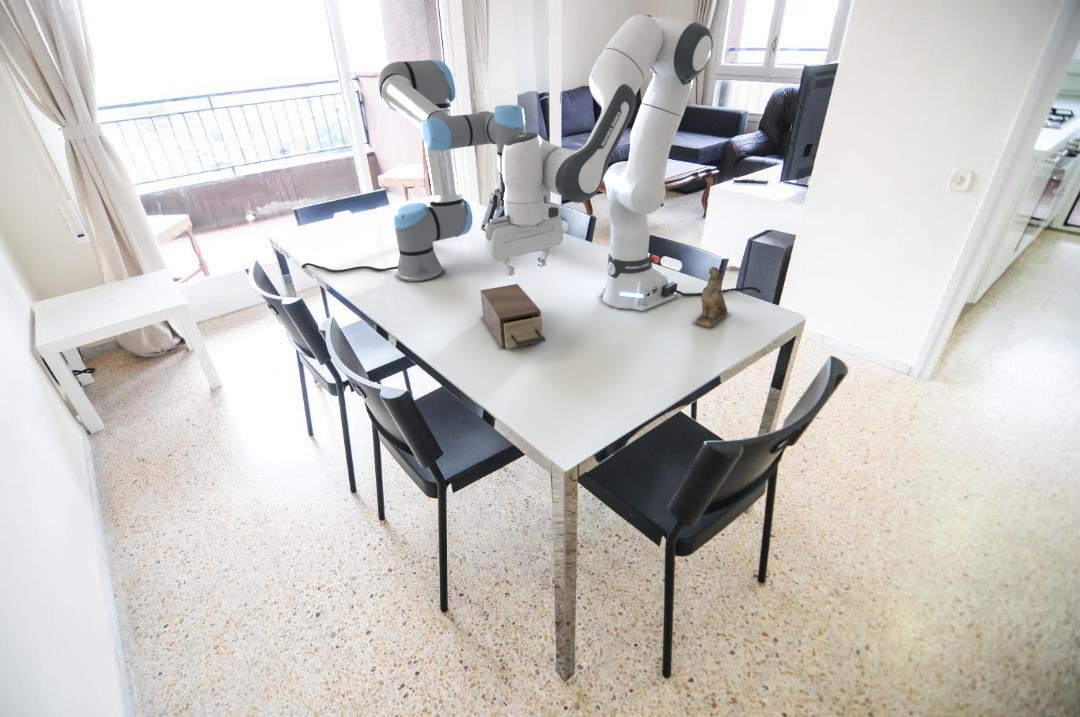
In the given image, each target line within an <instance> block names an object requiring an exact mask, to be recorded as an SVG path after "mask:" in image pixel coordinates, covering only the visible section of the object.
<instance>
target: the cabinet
mask: <svg viewBox="0 0 1080 717" xmlns="http://www.w3.org/2000/svg"><path fill="white" fill-rule="evenodd" d="M479 291H480V300H481V309H482V318H483V321H485V323H486V325H487V327H488V328H489V330H490V331H491V333H492V334H493V336H494V337H495V340H496V341H497V342H498V344H499V346H500V347H501V349H507V348H506V347H505V336H504V323H503V321H507V320H512V319H517V318H522V317H527V316H532V315H535V317H539V316H540V317H541V318H542V311H541V309H540V308H539V307H538V306H537V305H536V303H534V301H533V300H532V299H531V298H530V297H529V295H528V294H527V293H526V292H525V291H524V289H523V288H522V287H521V286H520V285H519V283H514V284H508V285H501V286H497V287H491V288H485V289H481V290H479Z"/></svg>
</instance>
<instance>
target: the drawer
mask: <svg viewBox="0 0 1080 717" xmlns="http://www.w3.org/2000/svg"><path fill="white" fill-rule="evenodd" d="M542 319H543V318H542V316H541V317H540V316H539V317H535V315H532V316H527V317H522V318H517V319H512V320H507V321H503V323H504V336H505V347H506V348H505V349H506V350H508V349H513V348H519V347H523V346H527V345H528V346H529V345H532V344H537V343H542V342H545V341H546V337H545V335H543V320H542Z"/></svg>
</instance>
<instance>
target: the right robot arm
mask: <svg viewBox="0 0 1080 717" xmlns="http://www.w3.org/2000/svg"><path fill="white" fill-rule="evenodd" d="M713 48H714V41H713V36H712V32H711V29H709V28H708V27H707V26H705V25H703V24H701V23H700V22H697V21H695V22H694V21H693V22H692V21H689V20H686V19H682V18H679V17H675V16H670V17H667V16H653V15H650V14H643V13H642V14H641V13H638V14H635V15H632V16H631V17H629V18H628V19H627V20H626V21H625V22H623V24H622V25H621V26H620V28H618V30H617V31H616V32H615V33H614V35H613V36H612V37H611V38H610V39H609V41H608V43H607V44H606V45H605V47H604V48H603V49H602V52H600V54H599V56H598V57H597V59H596V60H595V63H594V64H593V66H592V69H591V71H590V74H589V76H588V84H589V90H590V93H591V96H592V98H593V99H594V100H595V102H596V103H597V104H598V105H599V107H601V111H600V114H599V117H598V119H597V121H596V123H595V125H594V127H593V129H592V130H591V132H590V134H589V137H588V139H587V140H586V142H585V143H584V145H583V146H581V147H580V148H579V149H576V150H574V149H570V148H566V147H562V146H559V145H556V144H553V143H551V142H549V141H547V140H545V139H544V138H543V137H541V136H540V134H538V133H537V132H532V131H527V132H526V131H525V133H519V134H516V135H513V136H511V137H509V138H508V139H507V140H506V141H505V144H504V147H503V156H502V173H503V182H504V185H505V194H504V210H505V216H503V217H500V218H494V217H493V218H494V219H491V220H490V222H488V223H487V225H486V226H485V231H484V234H485V240H484V253H485V257H486V258H488V260H490V261H492V262H496V263H497V262H500V264H501V265H502V266H503V268H504V274H505V276H507V277H511V276H514V275H515V267H513V266H511V265H510V264H509V263H510V262H511V259H512V258H516V257H520V256H523V255H527V254H531V253H534V252H538V251H541V252H540V255H539V257H537V258H536V265H537V266H538V267H540V268H542V267H545V266H547V259H548V257H549V254H550V252H551V248H553V247H556V246H560V245H561V244H562V242H563V240H564V226H563V220H562V218H561V216H562V213H563V210H562V207H560V206H558V205H556V204H553V203H549V202H547V203H546V202H543V195H545V193H546V192H551V193H553V194H556V195H558V196H561V197H563V198H565V199H566V200H569V201H570V202H573V203H575V204H576V203H577V204H581V203H584V202H588V201H589V200H591V199H592V198H593V197H594V196H595V195H597V193H598V192H599V190H600V188H601V186H602V184H603V183H604V186H605V191H606V198H607V208H608V209H607V210H608V218H609V223H610V224H609V225H610V236H609V238H610V240H609V253H608V254H607V255H608V257H607V280H606V285H605V289H604V291H603V292H604V293H603V294H602V301H603V302H604V303H605V304H606V305H608V306H611V307H613V308H619V309H624V310H625V309H626V310H636V311H641V312H644V311H647V310H650V309H652V308H654V307H656V306H659V305H661V304H663V303H666V302H668V301H671V300H673V299H675V298H676V294H679V295H680V296H684V297H699V296H702V292H697V293H696V292H695V293H693V292H690V293H689V292H682V291H680V290H678V282H675V281H670V282H669V279H668V277H667V275H665V273H663V271H661V270H660V269H658V268H657V267H655V266H654V265H653V263H654V264H658V263H659V262H660V260H661V259H660V256H658V255H655V254H651V253H650V252H649V248H650V236H651V228H650V223H649V221H648V214H652V213H654V212H656V211H657V210H659V208H660V207H661V206H662V205H663V203H664V201H665V199H666V194H667V193H666V186H665V184H666V183H665V178H666V174H667V166H668V162H669V156H670V152H671V148H672V145H673V142H674V140H675V137H676V135H677V133H678V129H679V127H680V124H681V122H682V119H683V118H684V117H683V116H684V113H685V111H686V109H687V108H686V107H687V106H688V102H689V98H690V96H691V91H692V87H693V82H694V79H696V78H697V77H698V76H699V75H700V74H701V73H702V72H703V71H704V70H705V68H706V67H707V65H708V63H709V62H710V59H711V56H712V52H713ZM650 72H651V73H652V79H651V80H650V81H649V84H648V86H647V89H646V90H645V93H644V96H643V98H642V100H641V103H640V106H639V108H638V111H637V114H636V117H635V119H634V123H633V125H632V128H631V130H630V134H629V143H630V144H629V154H628V159H627V160H626V161H625V160H623V161H618V162H615V163H613V164H611V165H610V166H609V163H610V161H611V158H613V155H614V153H615V151H616V149H617V147H618V145H619V143H620V141H621V139H622V138H623V136H624V134H625V131H626V129H627V128H628V125H629V123H630V121H631V119H632V117H633V114H634V112H635V109H636V104H637V98H636V96H637V93H638V92H639V90H640V88H641V87H642V85H643V83H644V81H645V80H646V78H647V77H648V75H649V73H650ZM608 166H609V167H608ZM490 223H491V224H490ZM652 262H653V263H652ZM726 289H727V290H726ZM726 289H722V293H723V294H725V293H729V292H738V291H739V292H740V291H747V290H752V291H755V292H757V293H759V294H761V293H762V291H761V290H760V289H759V288H757V287H756V286H744V287H733V288H732V287H731V288H726ZM729 290H730V291H729Z"/></svg>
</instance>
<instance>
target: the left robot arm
mask: <svg viewBox="0 0 1080 717" xmlns="http://www.w3.org/2000/svg"><path fill="white" fill-rule="evenodd" d="M376 91H377V94H378V97H379V98H380V100H381V102H382V103H383V104H384V105H385V106H386V107H388V108H389V109H390V110H392V111H396V112H399V113H400V114H401V115H402V116H404V117H405V118H406V119H407V120H408V121H410V122H411V123H412V124H413V125H414V126H415V127H416V128H418V129H419V130H420V131H421V138H422V140H423V142H424V149H425V155H426V161H427V166H428V173H429V179H430V185H431V186H430V187H431V191H432V195H431V197H430V198H429V206H428V205H427V204H426V203H424V202H416V203H409V204H406V205H403V206H401V207H399V208H397V209H396V210H395V211H394V213H393V215H392V219H393V228H394V230H395V231H394V232H395V236H396V241H397V247H398V251H399V259H398V265H396V266H391V267H386V268H377V267H374V266H369V265H360V266H353V267H349V268H344V269H331V268H328V267H325V266H321V265H318V264H315V263H311V262H306V263H303V264H302V266H301V269H303V268H305V267H307V266H309V267H313V268H316V269H319V270H324V271H327V272H329V273H330V272H331V273H344V272H350V271H354V270H361V269H362V270H364V269H367V270H372V271H377V272H387V271H391V270H392V271H393V270H397V276H398V278H399V279H400V280H402V281H406V282H413V283H414V282H425V281H429V280H432V279H435V278H438V277H439V276H440V275H441V274H442V273H443V268H442V264H441V263H440V260H439V259H438V256H437V254H436V252H435V250H434V243H435V242H438V241H442V240H447V239H451V238H458V237H460V236H463V235H466V234H468V233H469V232H470V231H471V228H472V227H473V226H472V225H473V211H472V208H471V205H470V202H468V200H466V199H464V195H463V194H461V193H460V192H459V189H458V182H457V175H456V169H455V168H456V166H455V160H454V153H453V149H460V148H466V147H476V146H483V145H484V146H485V145H496V156H497V170H498V171H499V173H498V184H499V188H500V194H495V193H493V192H491V193H489V196H488V198H489V199H488V205H487V209H486V211H485V214H484V217H483V220H482V222H481V226H480V230H481V231H484V232H485V226H486V225H487V223H488V222H490V220H491V219H494V218H500V217H503V216H505V210H504V194H505V185H504V182H503V173H502V156H503V147H504V144H505V141H506V140H507V139H508V138H509V137H511V136H513V135H516V134H519V133H526V120H525V110H524V107H523V106H522V105H520V104H503V105H496V106H495V107H494V109H493V112H492V111H488V110H486V111H478V112H476V113H470V114H458V115H449V112H450V111H451V110H452V106H451V103H452V102H453V101H455V99H456V93H457V88H456V82H455V79H454V76H453V73H452V71H451V69H450V68H449V66H448V65H447V63H445V62H443V61H442V60H436V59H435V60H434V59H426V60H408V61H406V60H405V61H401V60H400V61H395V62H391V63H389V64H387V65H385V67H383V68H382V69H381V71H380V73H379V74H378V76H377V80H376ZM499 199H501V200H502V202H501V204H500V205H499V209H498V211H497V212H496V207H497V203H498V202H499ZM490 224H491V223H490Z"/></svg>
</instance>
